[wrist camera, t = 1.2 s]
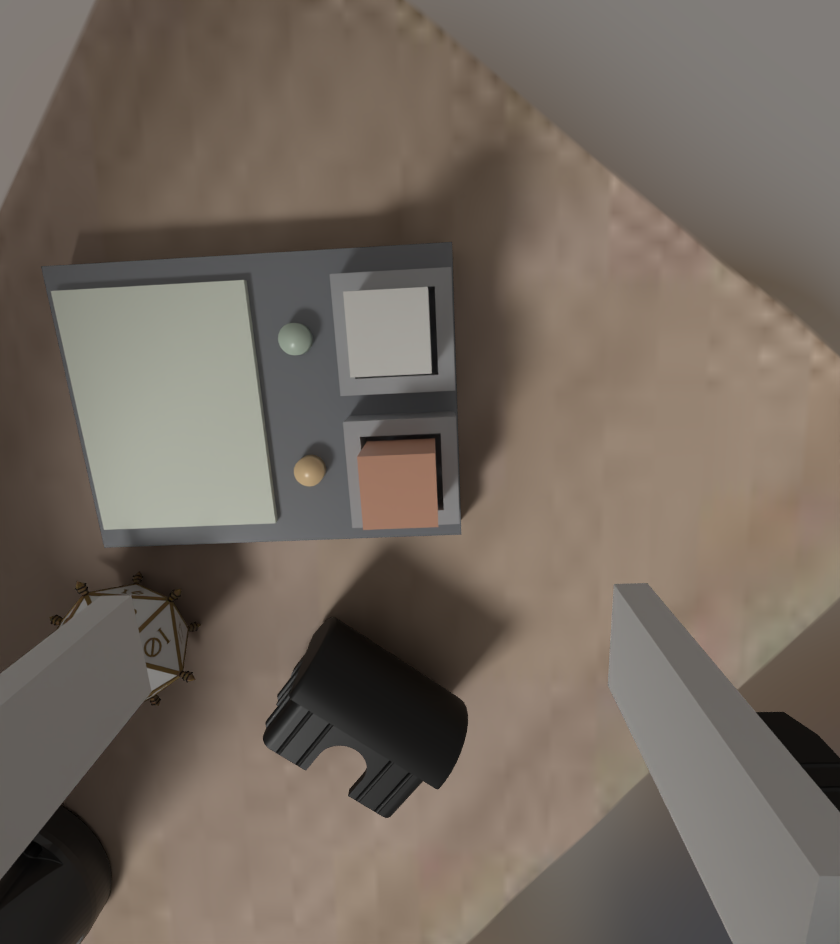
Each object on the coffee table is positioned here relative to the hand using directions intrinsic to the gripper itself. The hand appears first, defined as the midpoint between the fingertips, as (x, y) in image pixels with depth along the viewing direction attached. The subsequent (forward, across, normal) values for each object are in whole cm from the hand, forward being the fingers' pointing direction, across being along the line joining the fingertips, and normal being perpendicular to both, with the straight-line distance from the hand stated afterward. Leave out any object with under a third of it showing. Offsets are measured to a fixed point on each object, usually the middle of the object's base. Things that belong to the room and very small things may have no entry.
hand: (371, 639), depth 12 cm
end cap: (+19, +3, +15) cm, 24 cm away
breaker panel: (+18, +8, -4) cm, 20 cm away
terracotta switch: (+15, 0, 0) cm, 15 cm away
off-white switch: (+15, 0, -7) cm, 17 cm away
